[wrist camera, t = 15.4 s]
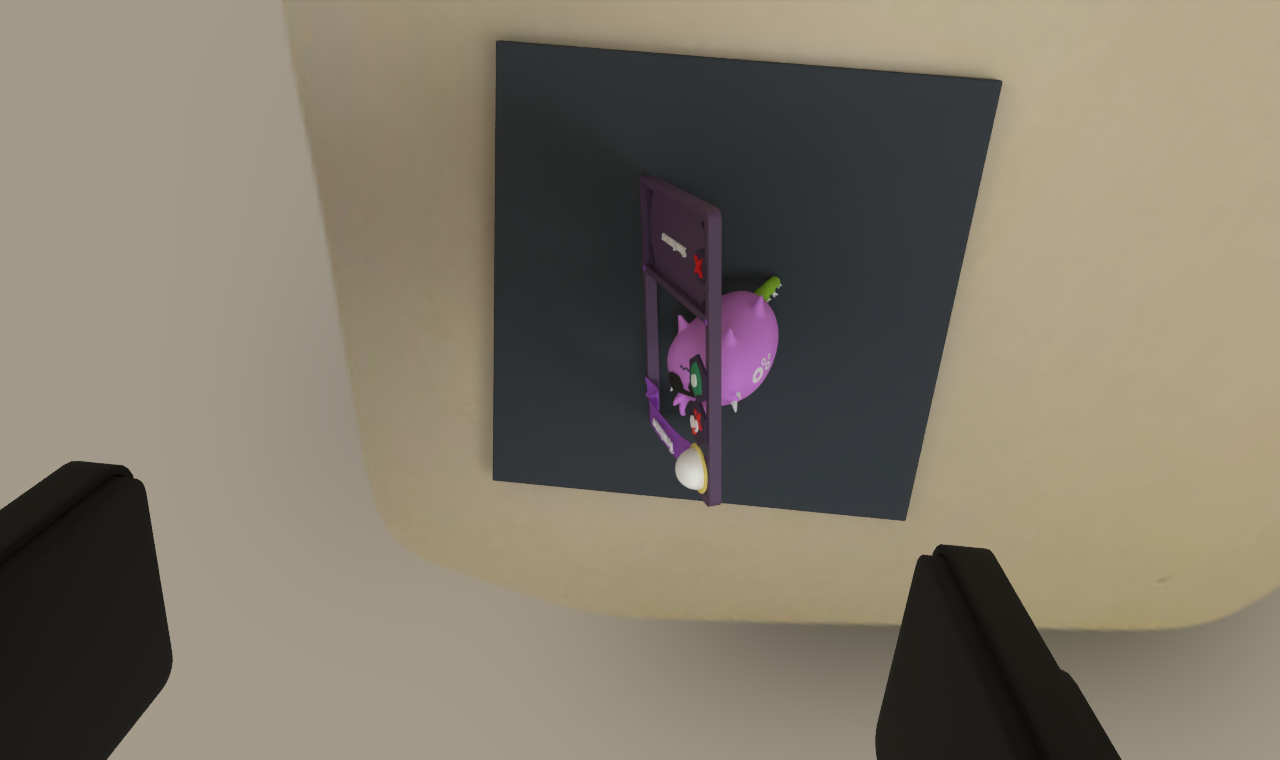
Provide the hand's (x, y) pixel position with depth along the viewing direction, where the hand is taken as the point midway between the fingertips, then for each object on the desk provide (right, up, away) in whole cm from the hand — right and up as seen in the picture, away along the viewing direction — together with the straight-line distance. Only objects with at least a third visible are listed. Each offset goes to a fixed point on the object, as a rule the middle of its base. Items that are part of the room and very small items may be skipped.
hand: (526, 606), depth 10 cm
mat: (+4, +6, +20) cm, 21 cm away
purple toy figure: (+4, +6, +20) cm, 21 cm away
